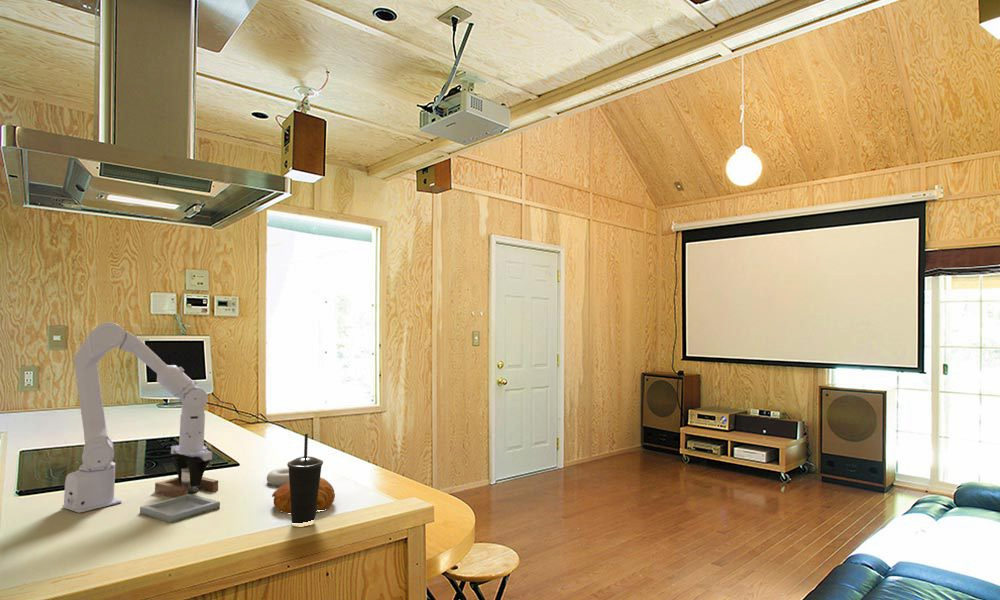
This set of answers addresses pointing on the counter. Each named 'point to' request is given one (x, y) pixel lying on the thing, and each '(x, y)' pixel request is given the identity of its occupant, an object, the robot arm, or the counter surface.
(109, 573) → the counter surface
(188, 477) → the salt shaker
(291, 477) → the drinking cup
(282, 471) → the donut
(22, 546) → the counter surface
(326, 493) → the croissant
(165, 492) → the notch block
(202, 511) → the dish
